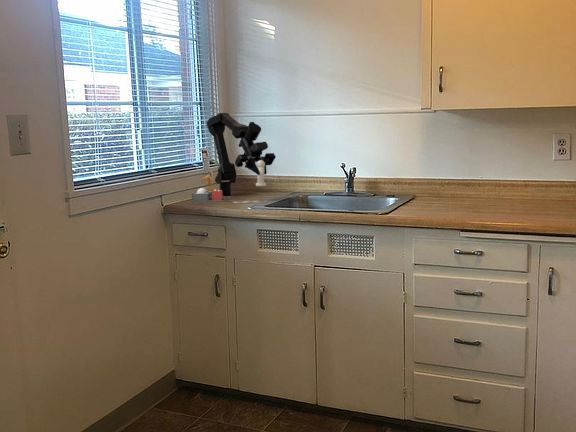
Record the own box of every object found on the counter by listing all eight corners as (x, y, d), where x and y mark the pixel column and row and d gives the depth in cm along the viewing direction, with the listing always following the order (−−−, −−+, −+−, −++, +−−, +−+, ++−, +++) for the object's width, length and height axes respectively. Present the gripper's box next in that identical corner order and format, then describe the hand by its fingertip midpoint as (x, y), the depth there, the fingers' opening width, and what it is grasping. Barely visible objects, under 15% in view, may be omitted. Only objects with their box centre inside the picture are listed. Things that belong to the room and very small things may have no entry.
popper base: (195, 200, 294) (195, 188, 293) (227, 201, 293) (227, 188, 292) (191, 203, 286) (190, 190, 285) (224, 204, 284) (224, 191, 284)
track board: (235, 206, 278) (235, 203, 278) (230, 204, 284) (230, 201, 283) (270, 204, 285) (270, 201, 285) (264, 202, 291) (264, 199, 290)
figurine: (221, 199, 301) (220, 173, 299) (214, 200, 296) (213, 174, 294) (206, 197, 305) (206, 172, 303) (199, 199, 300) (198, 173, 298)
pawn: (254, 185, 287) (254, 159, 285) (264, 184, 288) (264, 159, 286) (256, 186, 282) (256, 160, 280) (267, 186, 283) (267, 160, 282)
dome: (197, 197, 293) (196, 187, 292) (209, 197, 292) (209, 187, 291) (194, 199, 287) (193, 188, 286) (207, 199, 286) (207, 188, 285)
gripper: (237, 136, 279) (251, 163, 272) (273, 135, 290) (287, 161, 283) (229, 153, 287) (241, 179, 280) (264, 151, 298) (277, 177, 290)
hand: (262, 174), depth 283 cm, fingers closed on pawn, 3 cm apart
